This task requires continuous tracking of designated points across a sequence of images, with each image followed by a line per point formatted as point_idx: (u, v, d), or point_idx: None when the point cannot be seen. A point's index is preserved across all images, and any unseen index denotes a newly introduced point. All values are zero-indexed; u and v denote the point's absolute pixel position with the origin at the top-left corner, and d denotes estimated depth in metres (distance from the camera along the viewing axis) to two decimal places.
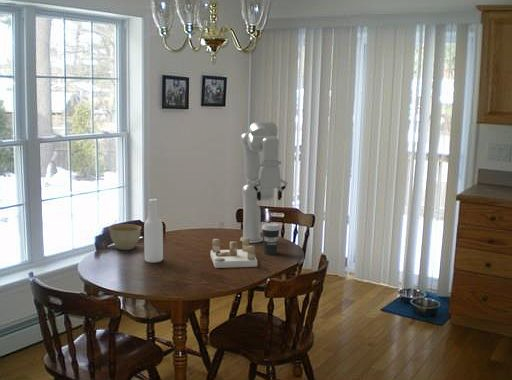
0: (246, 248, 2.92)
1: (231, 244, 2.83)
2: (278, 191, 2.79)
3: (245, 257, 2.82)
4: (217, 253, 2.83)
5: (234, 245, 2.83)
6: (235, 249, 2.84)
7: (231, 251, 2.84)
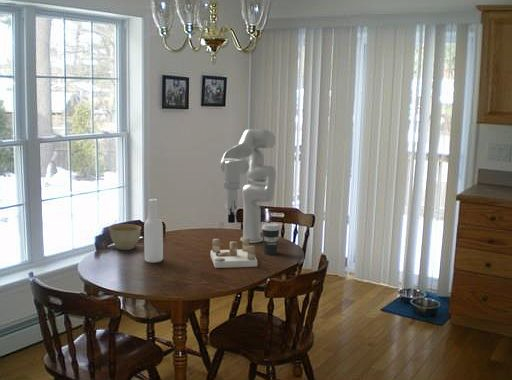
0: (246, 248, 2.92)
1: (231, 244, 2.83)
2: None
3: (245, 257, 2.82)
4: (217, 253, 2.83)
5: (234, 245, 2.83)
6: (235, 249, 2.84)
7: (231, 251, 2.84)
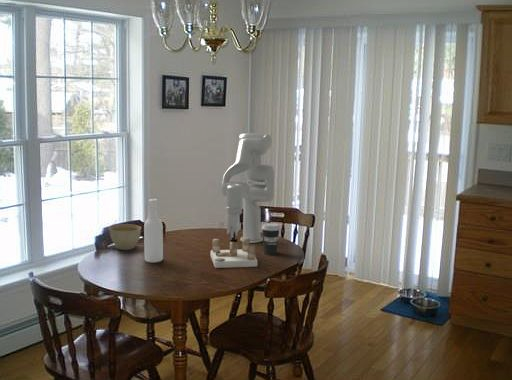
0: (246, 248, 2.92)
1: (231, 244, 2.82)
2: None
3: (245, 257, 2.82)
4: (217, 253, 2.83)
5: (234, 246, 2.82)
6: (235, 250, 2.83)
7: (231, 251, 2.83)
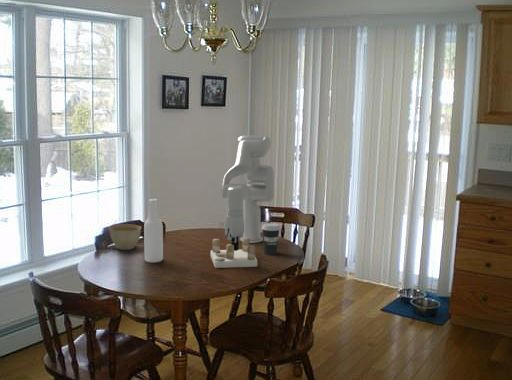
0: (246, 248, 2.92)
1: (226, 246, 2.79)
2: None
3: (245, 257, 2.82)
4: (216, 253, 2.83)
5: (228, 248, 2.77)
6: (229, 252, 2.78)
7: (226, 254, 2.79)
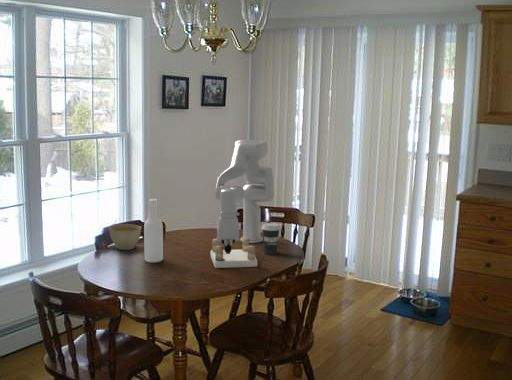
0: (246, 248, 2.92)
1: None
2: None
3: (245, 257, 2.82)
4: None
5: (215, 249, 2.75)
6: (216, 253, 2.75)
7: None
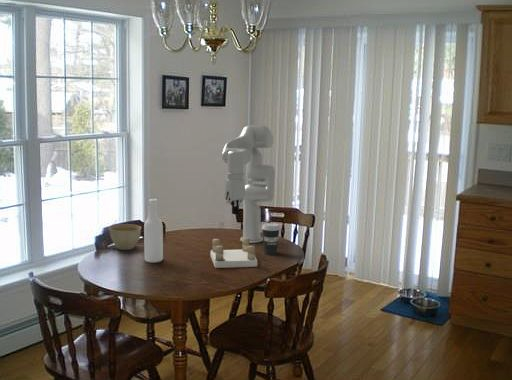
0: (246, 248, 2.92)
1: None
2: None
3: (245, 257, 2.82)
4: None
5: (216, 249, 2.75)
6: (216, 253, 2.75)
7: None
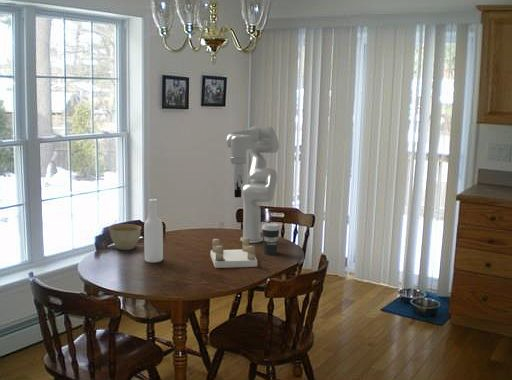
0: (246, 248, 2.92)
1: None
2: None
3: (245, 257, 2.82)
4: None
5: (216, 249, 2.75)
6: (216, 253, 2.75)
7: None
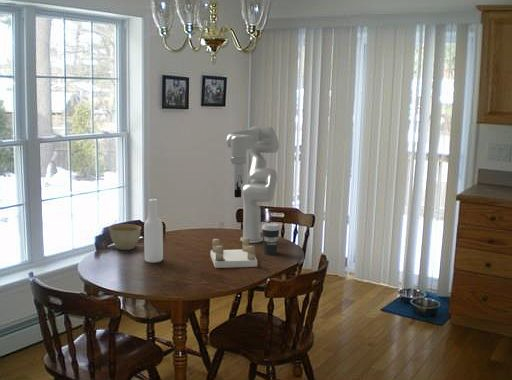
0: (246, 248, 2.92)
1: None
2: None
3: (245, 257, 2.82)
4: None
5: (216, 249, 2.75)
6: (216, 253, 2.75)
7: None
